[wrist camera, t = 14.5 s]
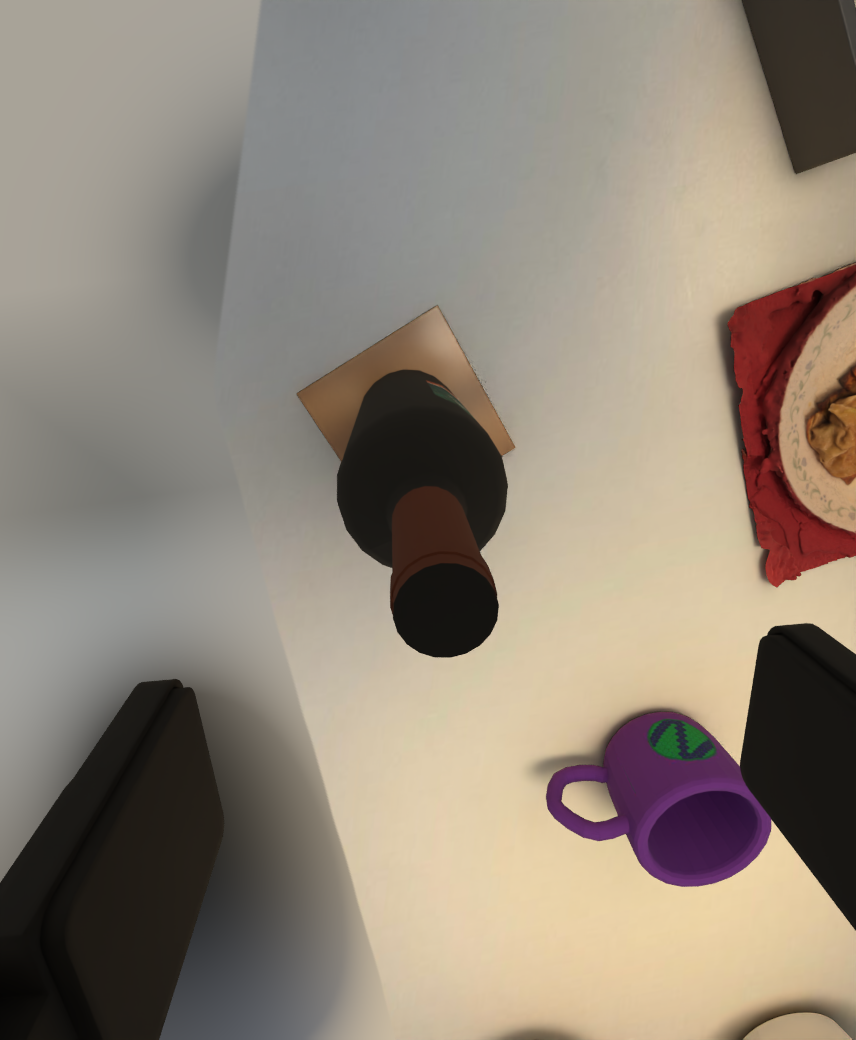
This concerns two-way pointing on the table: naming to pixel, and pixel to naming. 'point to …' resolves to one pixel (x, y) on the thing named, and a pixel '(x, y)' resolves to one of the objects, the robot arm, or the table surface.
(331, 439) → the cork mat
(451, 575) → the wine bottle
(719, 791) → the mug
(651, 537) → the table surface
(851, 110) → the grey square tray frame
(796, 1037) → the bowl
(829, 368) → the plate with food
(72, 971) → the robot arm
